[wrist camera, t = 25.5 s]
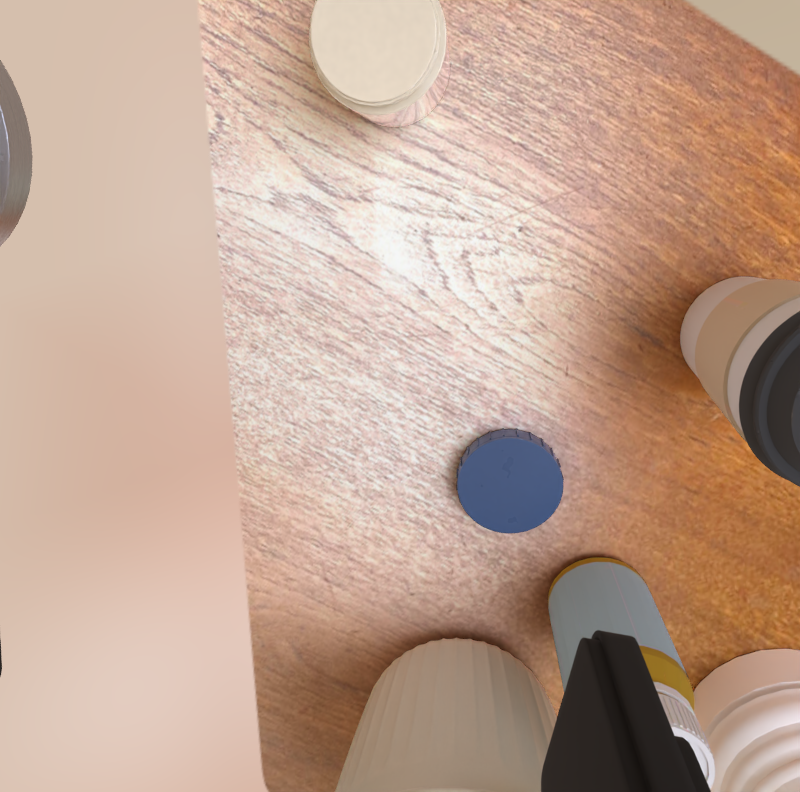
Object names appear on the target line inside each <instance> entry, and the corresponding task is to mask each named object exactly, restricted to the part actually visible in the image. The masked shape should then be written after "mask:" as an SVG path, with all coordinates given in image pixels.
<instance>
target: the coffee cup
mask: <svg viewBox="0 0 800 792" xmlns="http://www.w3.org/2000/svg"><path fill="white" fill-rule="evenodd" d="M680 345H681V350H682V354H683V356H684V359H685V361H686V363H687V364H688V366H689V367H690V368H691V370H692V371H693V372H694V373H695V375H696V376H697V377H698V378H699V380H700V382H701V384H702V386H703V388H704V389H705V391H706V392H707V393H708V395H709V396H710V397H711V399H712V400H713V401H714V402H715V404H716V405H717V406H718V408H719V409H720V410H721V411H722V413H723V414H724V415H725V417H726V418H727V419H728V420H729V422H730V423H731V424H732V426H733V427H734V428H735V429H736V431H737V432H738V433H739V434H740V436H741V437H742V438H743V439H744V440H745V441H746V442H747V443H748V445H749V447H750V448H751V450H752V451H753V453H754V454H755V455H756V457H757V458H758V459H759V460H760V461H761V462H762V463H763V464H764V465H765V466H766V467H767V468H769V469H770V470H771V471H773V472H774V473H776V474H777V475H779V476H781V477H783V478H785V479H787V480H789V481H791V482H792V483H794V484H796V485H798V486H800V282H798V281H792V280H784V279H763V278H756V277H748V276H742V277H734V278H729V279H726V280H723V281H720V282H718V283H716V284H714V285H712V286H711V287H709V288H708V289H706V290H705V291H704V292H703V293H701V294H700V295H699V296H698V297H697V298H696V299H695V301H694V302H693V303H692V305H691V306H690V307H689V309H688V311H687V313H686V315H685V317H684V320H683V323H682V327H681V332H680Z"/></svg>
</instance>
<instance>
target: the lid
mask: <svg viewBox="0 0 800 792" xmlns="http://www.w3.org/2000/svg"><path fill="white" fill-rule="evenodd" d="M560 467H561V466H560V463H559V460H558V459H556V457H555V455H554V453H553V450H552V448H550V447H549V446H548V445H547V444H546V443H545V442H544V441H543V439H540V438H538V437H536V436H535V435H532V434H531V432H529V433H528V432H525V431H520V430H518V429H516V430H513V429H505V430H504V429H502V430H498V431H494V432H489V433H488V434H486V435H483V436H482V437H480V438H477V440H476V441H475V442H473V443H472V444H471V445H470V446H469V447H467V450H466V451H465V453H464V454H463V456H462V457H461V458H460V463H459V467H458V469H457V490H458V496H459V499H460V502H461V504H462V506H463V508H464V510H465V511H466V513H467V514H468V515H469V516H470V517H471V518H472V519H473V520H474V521H475V522H477V523H478V524H480V525H481V526H483V527H485V528H487V529H489V530H492V531H496V532H501V533H519V532H524V531H528V530H530V529H533V528H535V527H537V526H539V525H541V524H542V523H543V522H545V521H546V520H547V519H548V518H549V517H550V516H551V515H552V514H553V513H554V512H555V510H556V508H557V507H558V505H559V503H560V500H561V497H562V493H563V480H564V479H563V475H562V472H561V470H560Z"/></svg>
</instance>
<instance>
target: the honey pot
mask: <svg viewBox="0 0 800 792" xmlns="http://www.w3.org/2000/svg"><path fill="white" fill-rule="evenodd" d="M693 693H694V699H695V704H694V713H695V715H696V718H697V720H698V721H699V723H700V726H701V728H702V730H703V733H704V735H705V737H706V740H707V742H708V744H709V747H710V749H711V751H712V754H713V757H714V763H715V778H714V782H713V785H712V787H711V789H710V790H711V792H800V650H793V649H772V650H760V651H757V652H753V653H750V654H746V655H743V656H739V657H736V658H734V659H732V660H731V661H729V662H727V663H725V664H723V665H721V666H719V667H717V668H716V669H715V670H713V671H712V672H711V673H710V674H709V675H708V676H707V677H706V678H704V679H703V680H702V681H701V682H700V683H699V684H698V686H697V687H696V689H695V690H694V692H693Z"/></svg>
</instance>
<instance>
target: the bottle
mask: <svg viewBox="0 0 800 792" xmlns="http://www.w3.org/2000/svg"><path fill="white" fill-rule="evenodd" d="M548 610H549V616H550V621H551V626H552V631H553V637H554V642H555V647H556V652H557V657H558V663H559V668H560V673H561V678H562V683H563V689H564V692H565V689H566V686H567V682H568V679H569V675H570V672H571V668H572V665H573V662H574V658H575V655H576V651H577V648H578V645H579V642H580V640H581V639H582V638H583V637H585V638H590V639H591V638H592V635H593V634H594V632H595V631H597V630H600V631H606V632H612V633H617V634H623V635H629V636H633V637H634V638H635V639H636V640H637V642H638V645H639V647H640V650H641V652H642V655H643V657H644V660H645V662H646V665H647V667H648V670H649V672H650V675H651V677H652V680H653V682H654V685H655V688H656V690H657V693H658V695H659V698H660V700H661V703H662V705H663V708H664V710H665V713H666V715H667V718H668V720H669V723H670V725H671V728H672V731H673V733H674V736H678V737H683V738H684V739H686V740H687V741H688V742H689V743H690V745H691V747H692V749H693V750H694V752H695V755H696V757H697V759H698V762H699V764H700V767H701V769H702V771H703V774H704V776H705V779H706V781H707V783H708V786H709V788H710V789H711V787H712V785H713V782H714V778H715V763H714V757H713V754H712V751H711V749H710V747H709V744H708V742H707V740H706V737H705V735H704V733H703V730H702V728H701V726H700V723H699V721H698V720H697V718H696V715H695V713H694V704H695V699H694V693H693V690H692V687H691V684H690V681H689V679H688V676H687V674H686V671H685V669H684V667H683V665H682V662H681V660H680V658H679V656H678V653H677V651H676V649H675V647H674V644H673V642H672V640H671V638H670V635H669V633H668V631H667V629H666V627H665V624H664V622H663V620H662V618H661V615H660V613H659V611H658V609H657V606H656V604H655V602H654V600H653V597H652V595H651V593H650V591H649V588H648V587H647V585H646V583H645V581H644V579H643V578H642V577H641V576H640V574H639V573H638V572H637V571H636V570H635V569H634V568H632V567H631V566H629V565H628V564H626V563H624V562H622V561H618V560H615V559H612V558H601V557H594V558H588V559H584V560H580V561H577V562H575V563H573V564H572V565H570V566H568V567H566V568H565V569H564V570H562V571H561V572H560V574H559V575H558V576H557V577H556V578H555V579H554V581H553V583H552V585H551V587H550V590H549V593H548Z"/></svg>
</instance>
